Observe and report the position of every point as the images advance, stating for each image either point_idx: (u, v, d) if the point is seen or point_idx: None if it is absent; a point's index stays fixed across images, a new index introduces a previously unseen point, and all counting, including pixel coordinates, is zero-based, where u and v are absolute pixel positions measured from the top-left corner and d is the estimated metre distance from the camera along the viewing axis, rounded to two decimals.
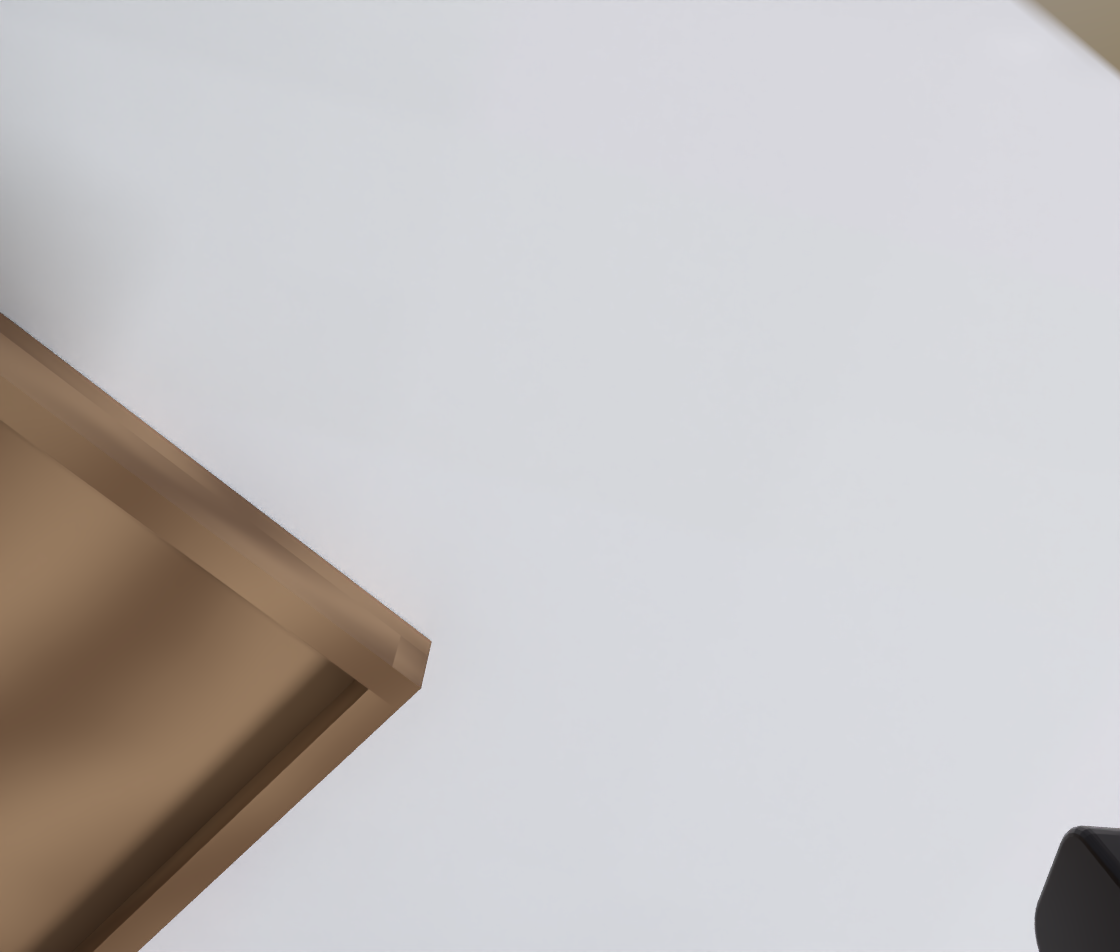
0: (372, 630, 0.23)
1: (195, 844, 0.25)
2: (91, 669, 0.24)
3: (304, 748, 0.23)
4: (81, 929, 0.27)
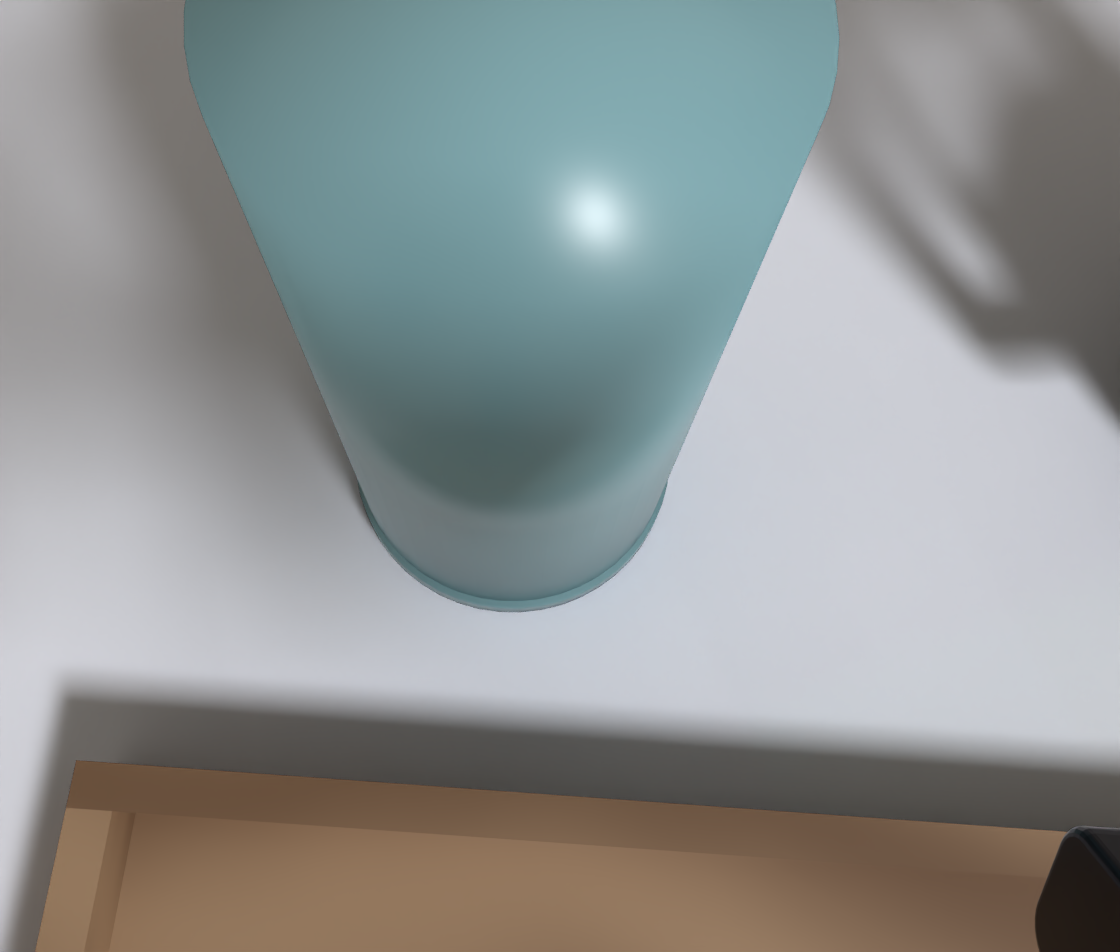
0: None
1: None
2: None
3: None
4: None
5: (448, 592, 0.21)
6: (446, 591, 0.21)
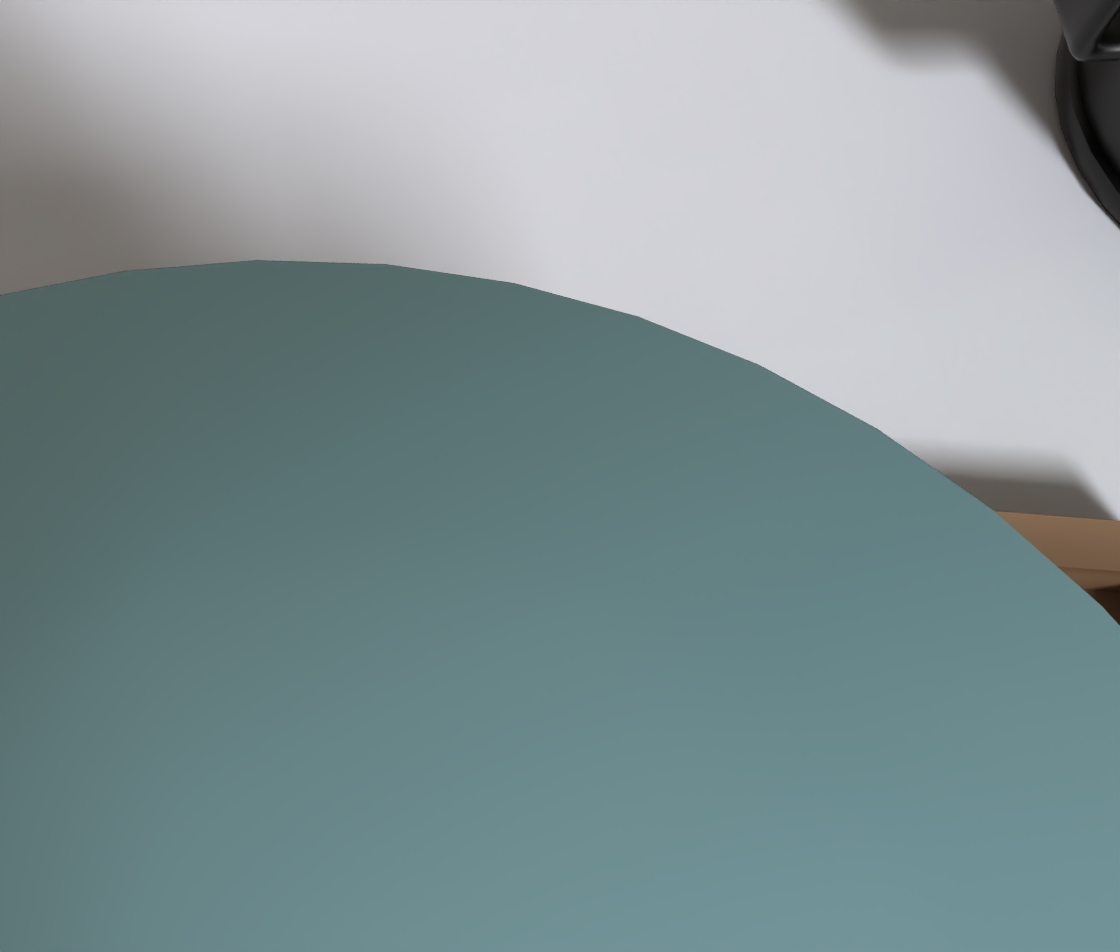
0: None
1: None
2: None
3: None
4: None
5: None
6: None
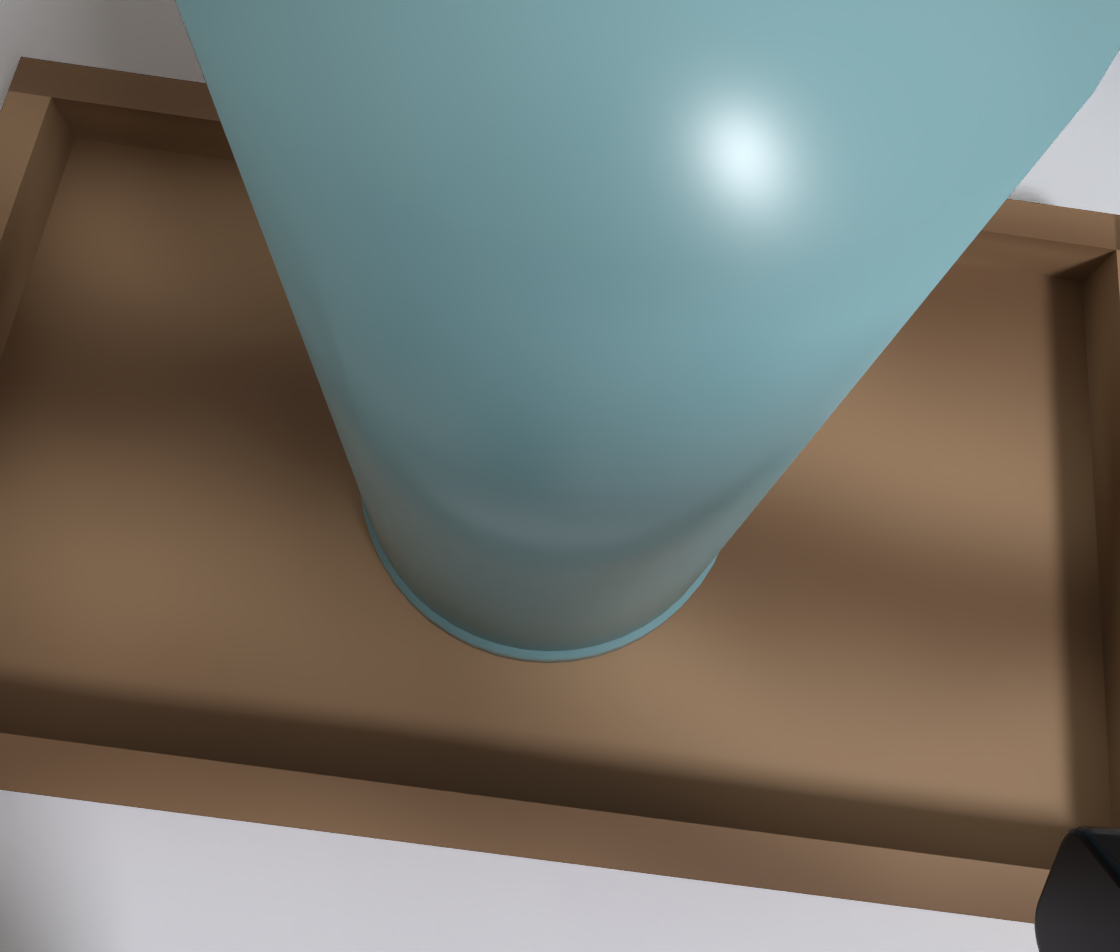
0: None
1: None
2: (838, 576, 0.19)
3: (1008, 864, 0.16)
4: (396, 770, 0.17)
5: (462, 636, 0.17)
6: (460, 634, 0.17)
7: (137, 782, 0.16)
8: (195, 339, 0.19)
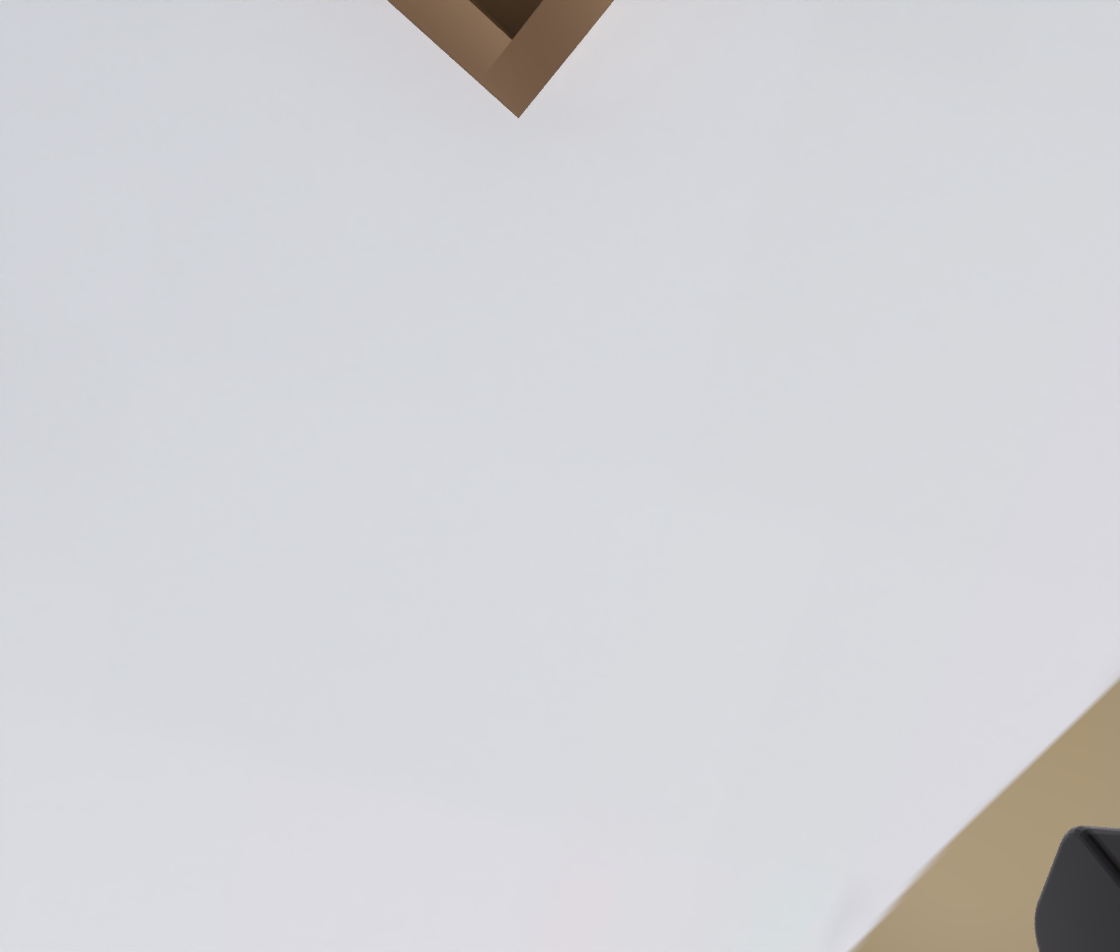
0: None
1: None
2: None
3: None
4: None
5: None
6: None
7: None
8: None
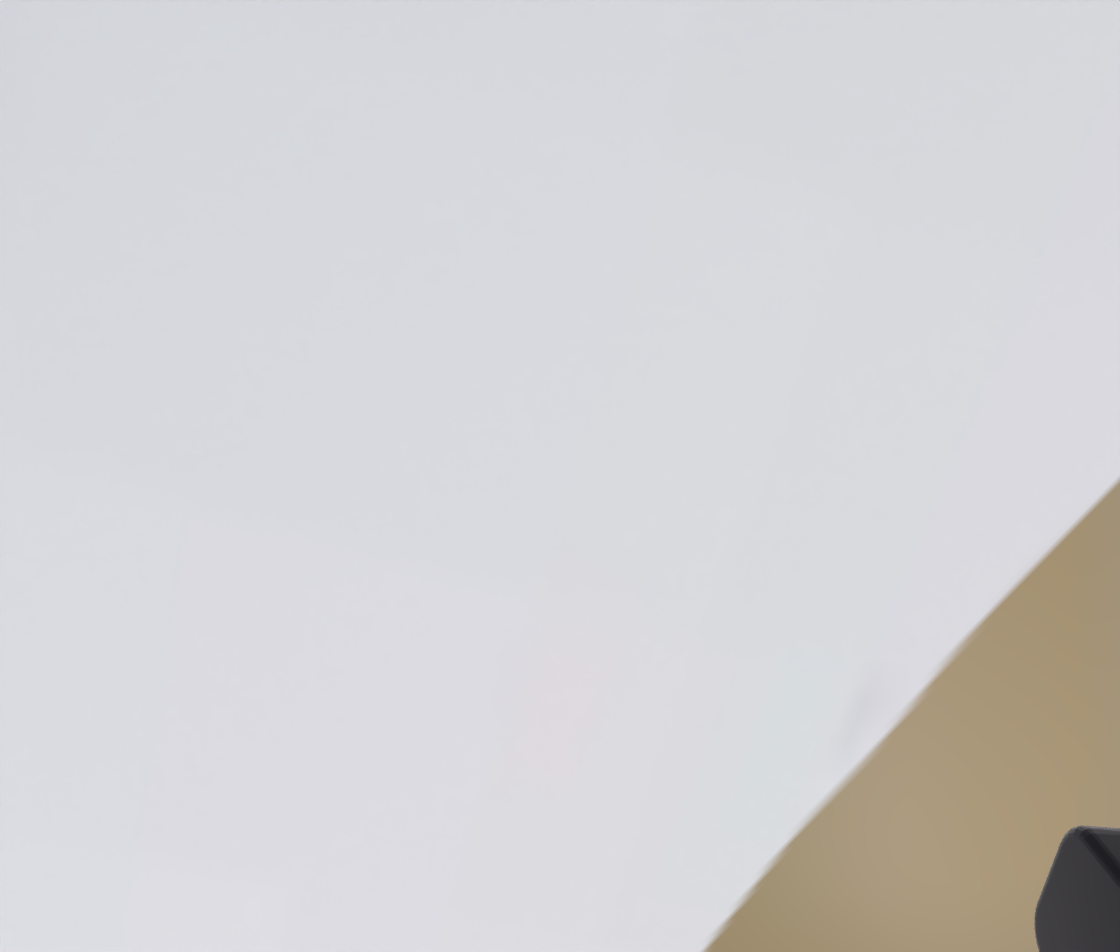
0: None
1: None
2: None
3: None
4: None
5: None
6: None
7: None
8: None
